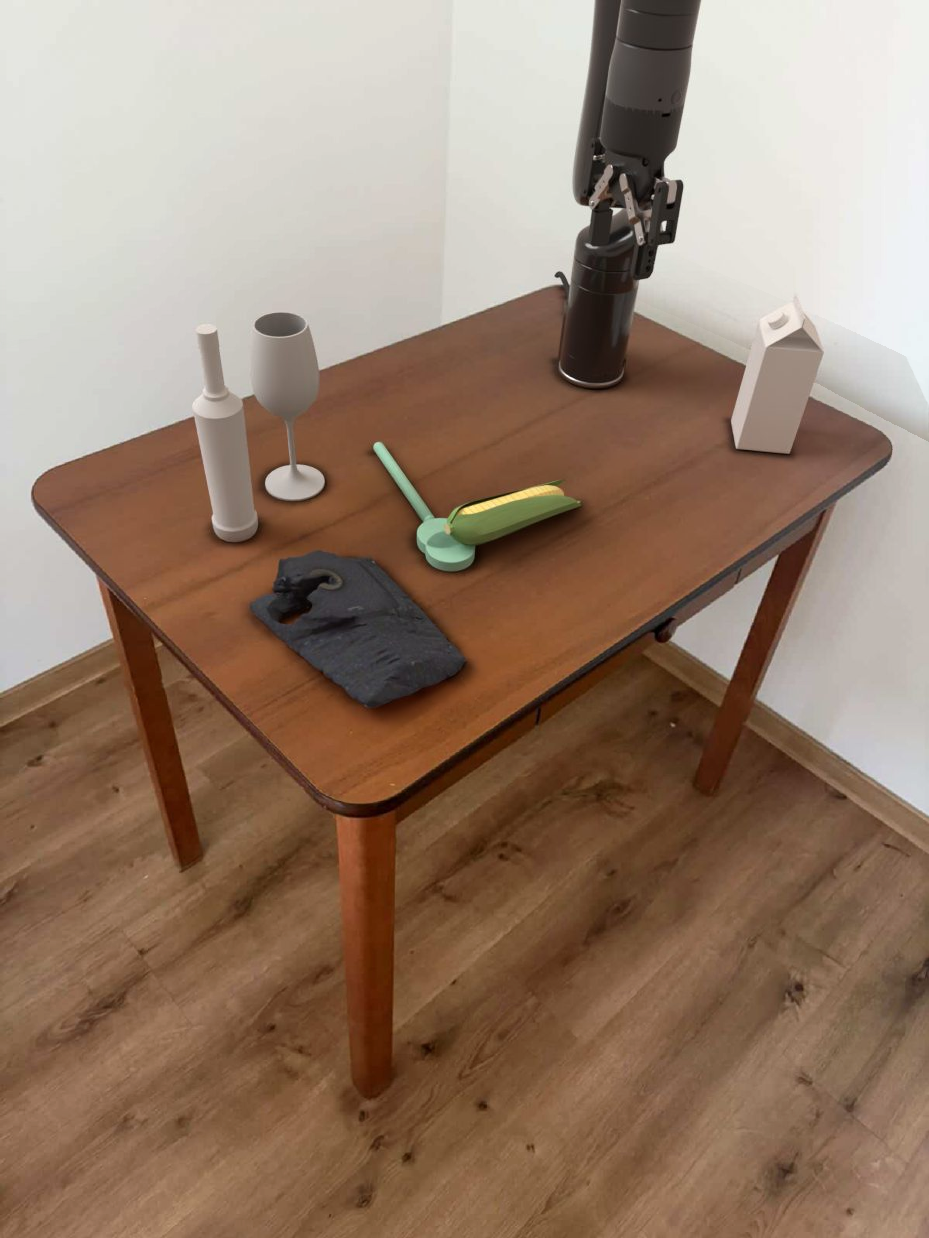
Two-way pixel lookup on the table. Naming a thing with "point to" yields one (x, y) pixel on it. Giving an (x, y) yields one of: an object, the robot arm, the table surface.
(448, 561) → the spoon
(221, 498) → the bottle
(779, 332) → the milk carton
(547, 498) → the edible corn
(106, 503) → the table surface
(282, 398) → the wineglass
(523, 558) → the table surface
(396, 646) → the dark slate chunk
